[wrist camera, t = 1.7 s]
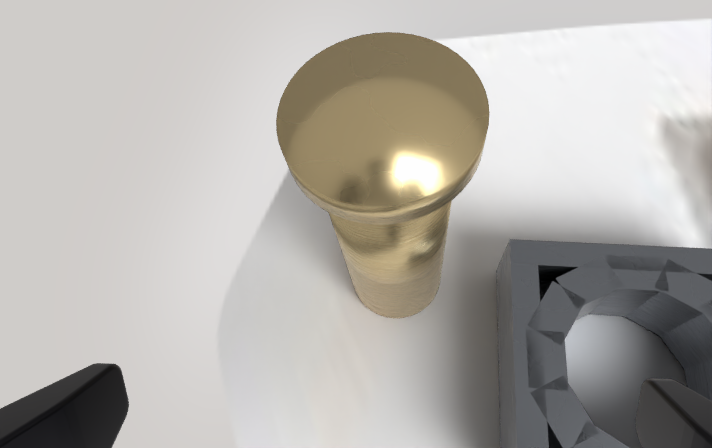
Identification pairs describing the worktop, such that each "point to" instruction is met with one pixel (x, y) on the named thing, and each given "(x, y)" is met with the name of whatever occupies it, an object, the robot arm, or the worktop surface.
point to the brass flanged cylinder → (386, 156)
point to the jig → (576, 299)
